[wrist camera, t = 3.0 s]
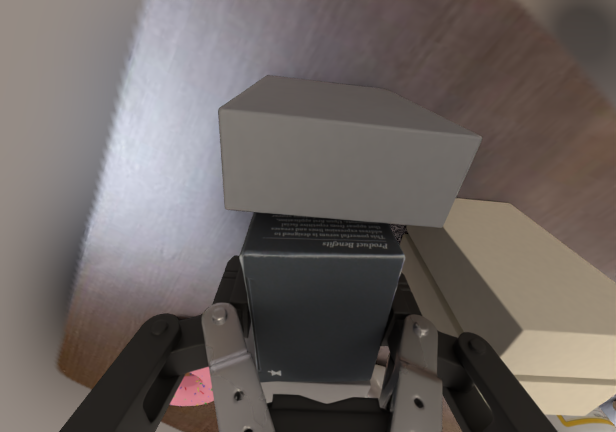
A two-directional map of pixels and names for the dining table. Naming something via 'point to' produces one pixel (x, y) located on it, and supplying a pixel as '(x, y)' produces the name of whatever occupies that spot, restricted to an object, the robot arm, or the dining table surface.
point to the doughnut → (194, 389)
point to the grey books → (339, 167)
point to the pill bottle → (582, 422)
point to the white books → (519, 301)
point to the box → (318, 295)
